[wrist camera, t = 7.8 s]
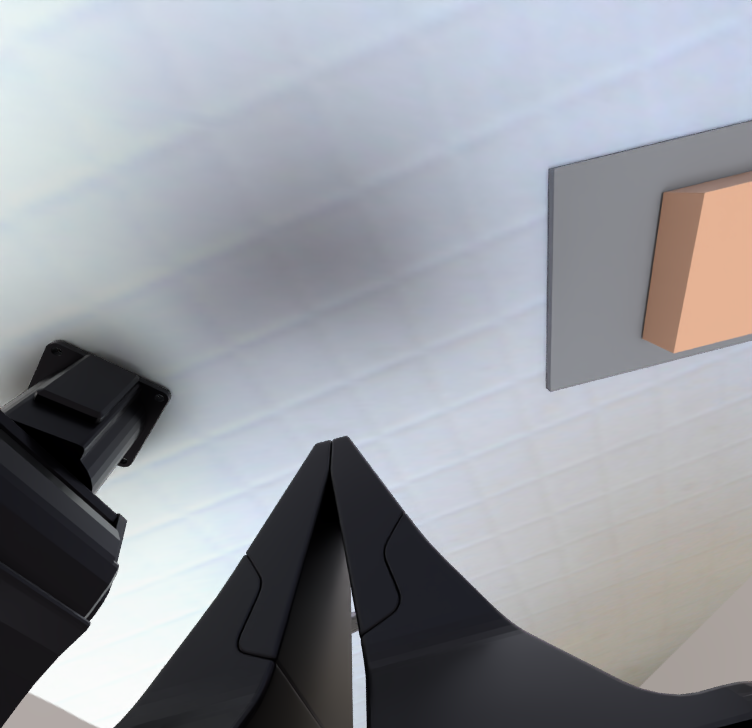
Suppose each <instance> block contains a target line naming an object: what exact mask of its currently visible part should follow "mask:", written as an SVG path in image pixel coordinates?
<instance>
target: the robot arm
mask: <svg viewBox="0 0 752 728" xmlns="http://www.w3.org/2000/svg"><path fill="white" fill-rule="evenodd" d="M56 348H59V349H60V350H61V351H62V353H60V352H58V351H57V349H56ZM158 395H162V396H163V397H164V398H160V397H158ZM170 398H171V393H170V392H169V391H168V390H167V389H165V388H163V387H161V386H159V385H157V384H154V383H152V382H150V381H148V380H146V379H144V378H141V377H139V376H137V375H136V374H134V373H132V372H130V371H128V370H125V369H123V368H121V367H119V366H117V365H115V364H113V363H110V362H108V361H106V360H104V359H102V358H100V357H98V356H95V355H93V354H90V353H88V352H85V351H83V350H81V349H79V348H77V347H75V346H73V345H70V344H68V343H66V342H64V341H60V340H56V341H54V342H52V343H50V344H48V345H47V346H46V348H45V351H44V353H43V355H42V357H41V360H40V362H39V364H38V367H37V369H36V371H35V374H34V376H33V378H32V381H31V383H30V385H29V388H28V390H27V391H25V392H24V393H22V394H21V395H19V396H18V397H16V398H15V399H13V400H12V401H10V402H9V403H8V404H6V405H5V406H3V407H2V408H0V728H2V726H3V724H4V723H5V722H6V721H7V719H8V718H9V717H10V715H11V714H12V713H13V711H14V710H15V708H16V707H17V706H18V704H19V703H20V702H21V700H22V699H23V698H24V697H25V695H26V694H27V693H28V692H29V690H30V689H31V688H32V686H33V685H34V684H35V683H36V682H37V680H38V679H39V678H40V677H41V676H42V675H43V674H44V673H45V672H46V670H47V669H48V668H49V667H50V666H51V665H52V664H53V663H54V661H55V660H56V659H57V658H58V657H59V656H60V655H61V654H62V653H63V652H64V651H65V650H66V649H67V648H68V647H69V646H70V645H71V644H73V643H74V642H75V641H76V640H77V639H78V638H79V637H80V636H81V635H82V634H83V633H84V632H85V631H86V630H87V629H88V628H89V626H90V620H91V619H92V618H93V616H94V615H95V614H96V612H97V611H98V609H99V608H100V607H101V605H102V604H103V602H104V600H105V598H106V597H107V595H108V593H109V591H110V588H111V585H112V582H113V580H114V578H115V577H116V575H117V572H118V568H119V564H118V563H117V561H118V557H119V553H120V548H121V544H122V540H123V536H124V531H125V527H126V523H127V520H126V519H125V518H124V517H123V516H122V515H121V514H116V513H115V512H114V511H112V510H111V509H110V508H109V507H108V506H107V505H106V504H105V503H104V502H103V501H101V500H100V499H99V498H98V497H97V496H96V495H95V494H96V492H97V491H98V490H99V488H100V487H101V486H102V484H103V483H104V482H105V480H106V479H107V478H108V476H109V475H110V474H111V472H112V471H113V470H114V468H115V467H116V466H117V465H118V466H121V467H128V466H130V465H131V464H132V462H133V461H134V459H135V458H136V456H137V454H138V452H139V451H140V449H141V447H142V446H143V444H144V442H145V441H146V439H147V437H148V436H149V434H150V432H151V430H152V429H153V427H154V425H155V424H156V422H157V420H158V419H159V417H160V415H161V414H162V412H163V410H164V408H165V407H166V405H167V403H168V402H169V400H170ZM123 458H125V459H127V460H125V459H123ZM246 554H247V555H244V556H243V558H242V559H241V561H240V562H239V564H238V566H237V567H236V569H235V570H234V572H233V573H232V575H231V576H230V578H229V579H228V581H227V582H226V584H225V585H224V587H223V588H222V590H221V591H220V593H219V594H218V596H217V597H216V598H215V600H214V601H213V602H212V604H211V605H210V606H209V608H208V609H207V611H206V612H205V613H204V615H203V616H202V617H201V619H200V620H199V621H198V623H197V624H196V626H195V627H194V628H193V629H192V631H191V632H190V633H189V635H188V636H187V637H186V639H185V640H184V641H183V643H182V644H181V645H180V647H179V648H178V649H177V651H176V652H175V653H174V654H173V656H172V657H171V658H170V660H169V661H168V662H167V664H166V665H165V666H164V668H163V669H162V670H161V672H160V673H159V674H158V676H157V677H156V678H155V679H154V681H153V682H152V683H151V685H150V686H149V687H148V689H147V690H146V691H145V693H144V694H143V695H142V696H141V698H140V699H139V700H138V701H137V703H136V704H135V705H134V706H133V708H132V709H131V710H130V711H129V712H128V713H127V714H126V715H125V717H124V718H123V719H122V720H121V721H120V722H119V723H118V724H117V725H116V726H115V727H114V728H353V700H352V636H351V591H352V596H353V602H354V607H355V613H356V618H357V624H358V630H359V635H360V638H361V646H362V652H363V658H364V666H365V674H366V711H367V728H752V681H744V682H736V683H731V684H726V685H722V686H718V687H714V688H711V689H707V690H704V691H700V692H696V693H689V694H681V695H677V694H665V693H657V692H653V691H649V690H645V689H641V688H639V687H636V686H634V685H631V684H629V683H627V682H624V681H622V680H620V679H618V678H616V677H614V676H612V675H610V674H608V673H606V672H604V671H602V670H600V669H599V668H597V667H595V666H593V665H591V664H589V663H587V662H585V661H583V660H581V659H579V658H577V657H575V656H573V655H571V654H569V653H567V652H565V651H563V650H561V649H559V648H557V647H555V646H553V645H551V644H549V643H547V642H545V641H543V640H542V639H540V638H538V637H536V636H534V635H532V634H530V633H528V632H526V631H524V630H523V629H521V628H519V627H518V626H516V625H515V624H514V623H512V622H511V621H510V620H509V619H507V618H506V617H505V616H504V615H503V614H501V613H500V612H499V611H498V610H497V609H496V608H495V607H494V606H493V605H492V604H490V603H489V602H488V601H487V600H486V599H485V598H484V597H483V596H482V595H481V594H480V593H479V592H478V591H477V590H476V589H475V588H474V587H473V586H472V585H471V584H470V583H469V582H468V581H467V580H466V579H465V578H464V577H463V576H462V575H461V574H460V573H459V572H458V571H457V570H456V569H455V568H454V567H453V566H452V565H451V564H450V563H449V562H448V561H447V560H446V559H445V558H444V557H443V556H442V555H441V554H440V553H439V552H438V551H437V550H436V549H435V548H434V547H433V546H432V545H431V544H430V543H429V541H428V540H427V539H426V538H425V537H424V535H423V534H422V533H421V532H420V530H419V529H418V528H417V527H416V526H415V524H414V523H413V522H412V520H411V519H410V518H409V516H408V515H407V514H405V511H404V510H403V509H402V507H401V506H400V505H399V503H398V502H397V501H396V499H395V498H394V497H393V495H392V494H391V493H390V491H389V490H388V489H387V487H386V486H385V485H384V483H383V482H382V481H381V479H380V478H379V477H378V475H377V474H376V473H375V471H374V470H373V469H372V467H371V466H370V465H369V463H368V462H367V461H366V459H365V458H364V457H363V455H362V454H361V453H360V451H359V450H358V449H357V447H356V446H355V445H354V443H353V442H352V441H351V439H350V438H349V437H348V436H343V437H339V438H336V439H333V441H331V440H328V441H324V442H320V443H317V444H315V446H314V447H313V449H312V450H311V452H310V453H309V455H308V457H307V458H306V460H305V461H304V463H303V464H302V466H301V467H300V469H299V471H298V472H297V474H296V475H295V477H294V478H293V480H292V481H291V483H290V485H289V486H288V488H287V489H286V491H285V492H284V494H283V496H282V497H281V499H280V500H279V502H278V503H277V505H276V506H275V508H274V510H273V511H272V513H271V514H270V516H269V517H268V519H267V521H266V522H265V524H264V525H263V527H262V528H261V530H260V531H259V533H258V535H257V536H256V538H255V539H254V541H253V542H252V544H251V546H250V547H249V549H248V550H247V552H246Z"/></svg>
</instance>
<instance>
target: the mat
mask: <svg viewBox="0 0 752 728" xmlns="http://www.w3.org/2000/svg"><path fill="white" fill-rule="evenodd" d="M750 171H752V120H751V121H747V122H743V123H739V124H735V125H731V126H726V127H722V128H718V129H714V130H710V131H706V132H701V133H697V134H693V135H689V136H685V137H681V138H677V139H672V140H668V141H664V142H660V143H656V144H652V145H647V146H643V147H639V148H635V149H631V150H627V151H622V152H618V153H614V154H610V155H606V156H602V157H597V158H593V159H589V160H585V161H581V162H577V163H572V164H568V165H564V166H560V167H556V168H552V169H549V226H548V309H547V389H548V390H549V391H550V392H552V391H556V390H560V389H564V388H568V387H572V386H576V385H579V384H583V383H587V382H591V381H595V380H599V379H603V378H607V377H611V376H615V375H619V374H623V373H627V372H630V371H634V370H638V369H642V368H646V367H650V366H654V365H658V364H662V363H666V362H670V361H674V360H677V359H681V358H685V357H689V356H693V355H697V354H701V353H705V352H709V351H713V350H717V349H721V348H724V347H728V346H732V345H736V344H740V343H744V342H748V341H752V334H748V335H744V336H740V337H736V338H732V339H728V340H724V341H720V342H716V343H713V344H709V345H705V346H701V347H697V348H693V349H689V350H685V351H681V352H677V353H672V352H670V351H667V350H665V349H663V348H661V347H659V346H657V345H655V344H652V343H650V342H648V341H646V340H644V339H642V337H643V330H644V323H645V317H646V310H647V303H648V296H649V289H650V282H651V276H652V269H653V262H654V255H655V248H656V241H657V235H658V228H659V221H660V214H661V207H662V200H663V194H664V192H668V191H672V190H676V189H680V188H684V187H688V186H692V185H696V184H700V183H704V182H709V181H713V180H717V179H721V178H725V177H729V176H733V175H737V174H741V173H745V172H750Z"/></svg>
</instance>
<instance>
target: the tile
mask: <svg viewBox="0 0 752 728" xmlns="http://www.w3.org/2000/svg"><path fill="white" fill-rule="evenodd" d="M748 334H752V171H750V172H745V173H741V174H737V175H733V176H729V177H725V178H721V179H717V180H713V181H709V182H704V183H700V184H696V185H692V186H688V187H684V188H680V189H676V190H672V191H668V192H664V194H663V200H662V207H661V214H660V221H659V228H658V235H657V241H656V248H655V255H654V262H653V269H652V276H651V282H650V289H649V296H648V303H647V310H646V317H645V323H644V330H643V337H642V339H644V340H646V341H648V342H650V343H652V344H655V345H657V346H659V347H661V348H663V349H665V350H667V351H670V352H672V353H677V352H681V351H685V350H689V349H693V348H697V347H701V346H705V345H709V344H713V343H716V342H720V341H724V340H728V339H732V338H736V337H740V336H744V335H748Z"/></svg>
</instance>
